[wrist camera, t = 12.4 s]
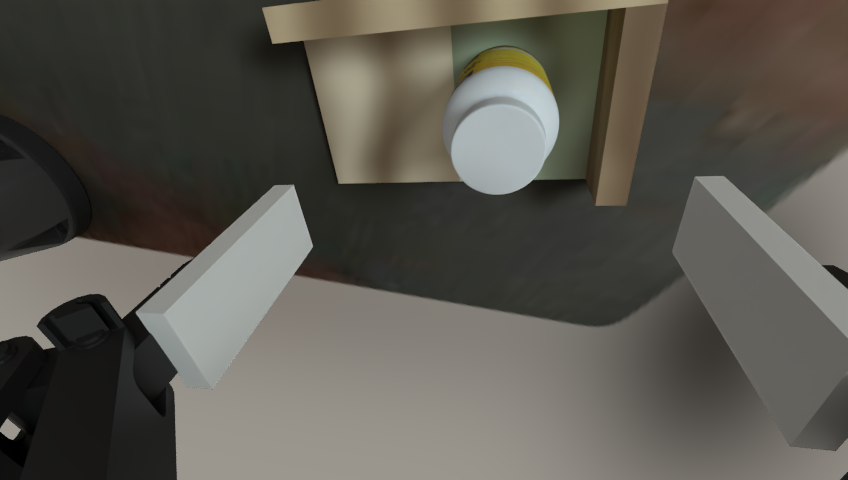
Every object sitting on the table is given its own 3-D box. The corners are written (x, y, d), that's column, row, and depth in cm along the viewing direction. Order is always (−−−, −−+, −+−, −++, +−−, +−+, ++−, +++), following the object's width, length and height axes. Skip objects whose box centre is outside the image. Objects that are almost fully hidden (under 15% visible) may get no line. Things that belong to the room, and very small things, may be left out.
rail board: (341, 180, 36) (319, 207, 31) (298, 3, 28) (262, 7, 24) (610, 175, 31) (626, 205, 27) (647, -41, 23) (677, -44, 19)
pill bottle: (492, 23, 26) (482, 50, 16) (567, 79, 27) (599, 134, 18) (440, 105, 30) (408, 166, 20) (508, 152, 31) (509, 230, 21)
